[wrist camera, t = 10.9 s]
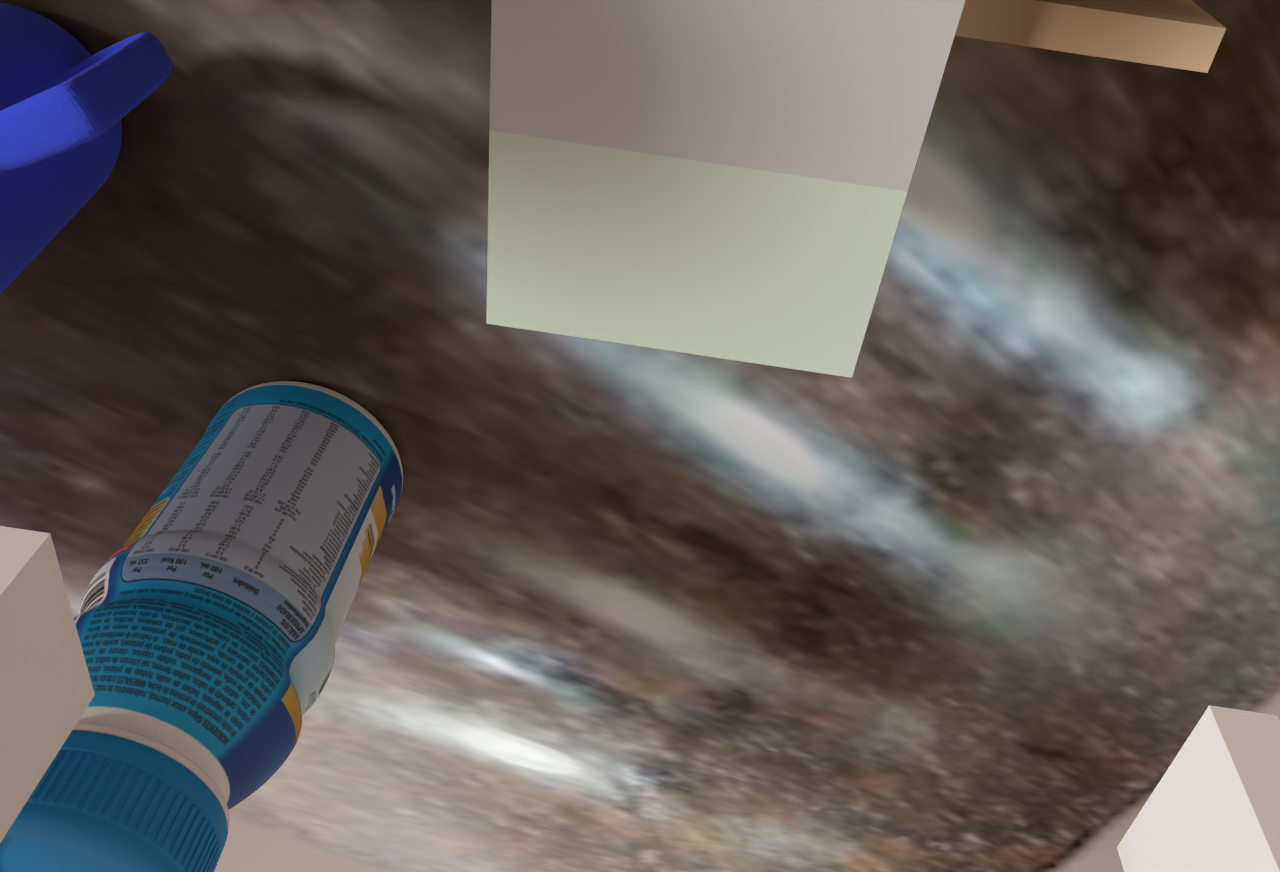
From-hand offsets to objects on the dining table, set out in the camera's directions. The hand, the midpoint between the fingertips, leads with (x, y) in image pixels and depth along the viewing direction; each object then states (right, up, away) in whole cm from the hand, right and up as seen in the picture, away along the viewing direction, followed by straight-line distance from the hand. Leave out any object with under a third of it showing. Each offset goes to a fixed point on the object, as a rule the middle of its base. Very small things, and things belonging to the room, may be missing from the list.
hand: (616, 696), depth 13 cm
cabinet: (+3, +16, +17) cm, 23 cm away
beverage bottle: (-13, +2, +33) cm, 36 cm away
